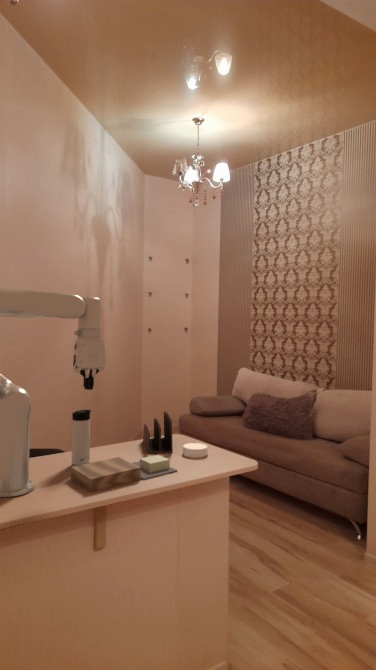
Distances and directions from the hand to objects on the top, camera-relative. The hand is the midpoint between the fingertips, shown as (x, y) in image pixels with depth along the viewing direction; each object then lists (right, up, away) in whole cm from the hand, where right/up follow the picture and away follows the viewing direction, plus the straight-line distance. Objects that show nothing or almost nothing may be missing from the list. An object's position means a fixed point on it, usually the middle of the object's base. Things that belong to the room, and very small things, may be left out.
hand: (88, 389), depth 148 cm
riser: (+6, -29, -3) cm, 30 cm away
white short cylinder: (+36, -30, +27) cm, 54 cm away
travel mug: (-5, -29, +11) cm, 31 cm away
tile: (+21, -27, +8) cm, 36 cm away
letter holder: (+20, -29, +37) cm, 51 cm away
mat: (+19, -29, +8) cm, 36 cm away
